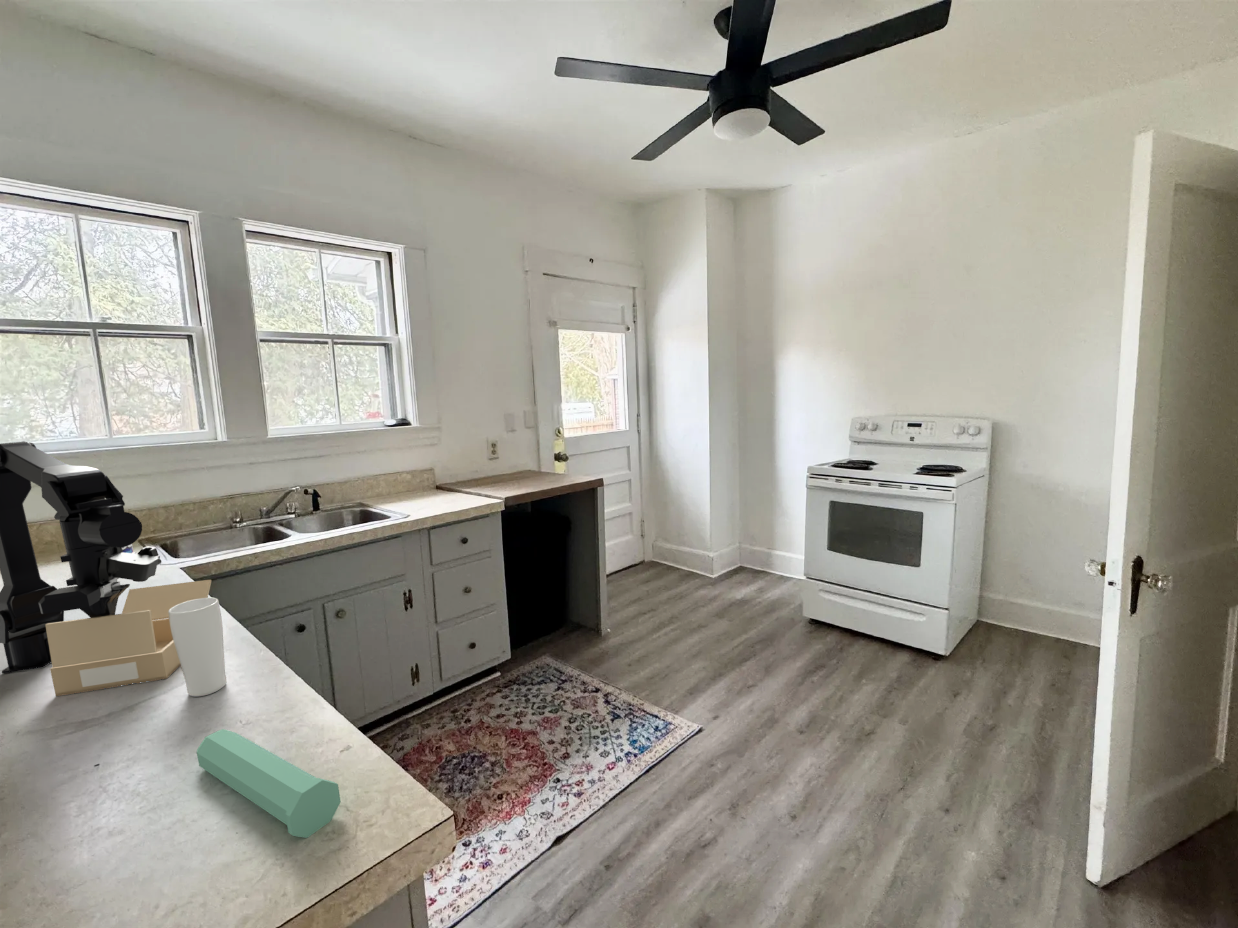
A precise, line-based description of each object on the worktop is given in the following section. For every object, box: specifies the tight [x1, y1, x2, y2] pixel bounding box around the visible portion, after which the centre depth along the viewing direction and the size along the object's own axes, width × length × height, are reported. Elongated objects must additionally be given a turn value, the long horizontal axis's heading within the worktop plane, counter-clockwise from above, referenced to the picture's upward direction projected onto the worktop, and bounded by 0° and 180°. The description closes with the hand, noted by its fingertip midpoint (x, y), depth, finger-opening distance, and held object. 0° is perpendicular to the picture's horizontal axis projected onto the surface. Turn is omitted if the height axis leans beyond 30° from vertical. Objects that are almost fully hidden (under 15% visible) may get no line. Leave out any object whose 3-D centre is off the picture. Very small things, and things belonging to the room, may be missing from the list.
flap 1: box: [45, 610, 157, 668], centre depth 94 cm, size 15×8×1 cm
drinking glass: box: [168, 597, 227, 698], centre depth 92 cm, size 7×7×15 cm
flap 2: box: [121, 579, 212, 621], centre depth 115 cm, size 15×8×1 cm
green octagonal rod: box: [196, 728, 342, 839], centre depth 68 cm, size 6×6×25 cm
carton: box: [49, 618, 181, 697], centre depth 104 cm, size 16×18×5 cm
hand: (108, 630), depth 96 cm, fingers closed
